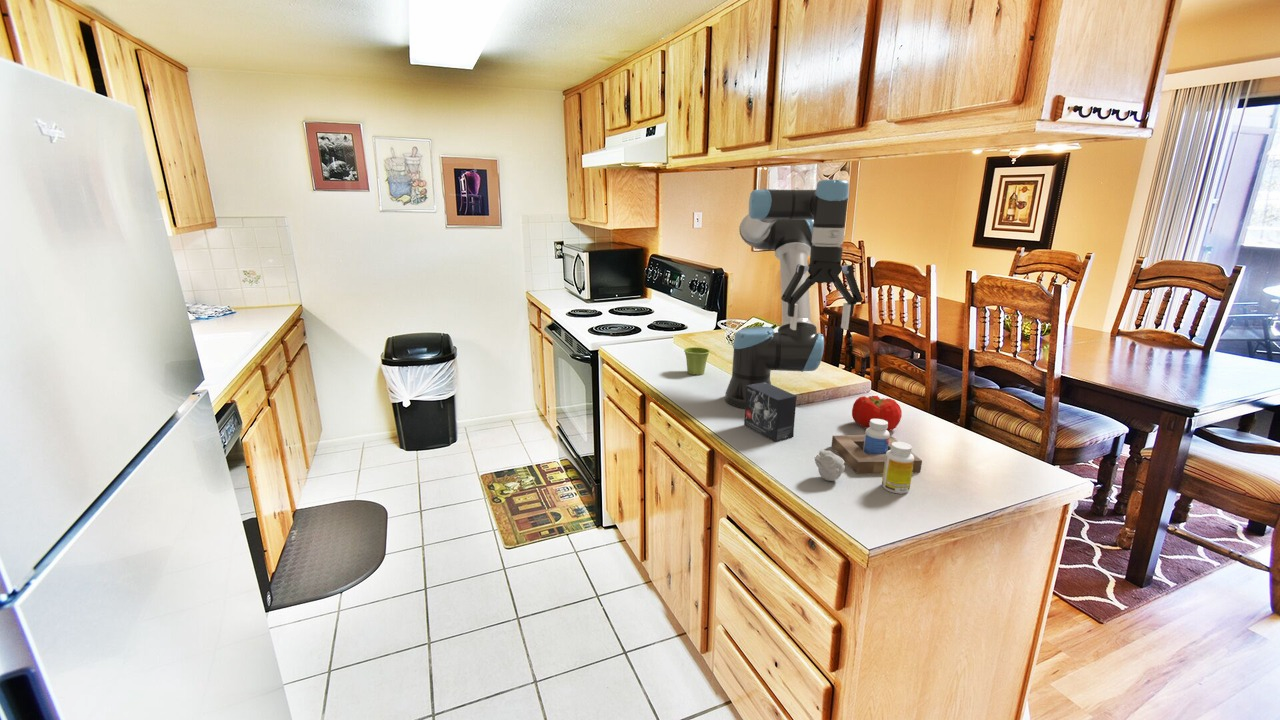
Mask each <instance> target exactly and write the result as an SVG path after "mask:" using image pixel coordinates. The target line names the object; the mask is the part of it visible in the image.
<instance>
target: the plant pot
mask: <svg viewBox="0 0 1280 720" xmlns="http://www.w3.org/2000/svg"><path fill="white" fill-rule="evenodd" d="M683 352H684V355H685V357H686V359H685V360H686V369H687V373H688V374H689V375H692V376H693V375H697V376H701V375H704V374H705V370H706V366H707V360H708V357H709V354H710V353H711V351H710V349H709V348H706V347H700V346H699V347H696V346H693V347H690V346H689V347H686V348H684V349H683Z"/></svg>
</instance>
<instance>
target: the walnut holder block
mask: <svg viewBox="0 0 1280 720" xmlns="http://www.w3.org/2000/svg"><path fill="white" fill-rule="evenodd" d="M864 440H865V434H853V435H851V434H849V435H848V434H847V435H845V434H844V435H843V434H842V435H841V434H840V435H832V438H831V444H830V445H831V448H832V449H833V450H834V452H836V454H838V456H839V457H841V458H842V459H843V460H844V462H845V463H846V464H847V465H848V466H849V467H850V468H851V469H852V470H853V471H854V472H855V473H856V475H861V474H862V475H863V474H865V475H870V474H871V475H873V474H883V471H884V464H885V457H886V454H870V455H867V454H866V453H865V452H864V451H863V448H864ZM893 442H899V441H898V440H897V439H896V438H894V436H892V435H891V434H890V436H889V443H888V450H891V444H892V443H893ZM911 454H912V455H913V456H914V464H913V470H912V474H913V473H918V474H919V473H921V470H922V464H923V459H921V458H920V457H918V456H917V455H916V454H914V453H913V452H912V451H911Z"/></svg>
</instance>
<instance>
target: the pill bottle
mask: <svg viewBox="0 0 1280 720" xmlns="http://www.w3.org/2000/svg"><path fill="white" fill-rule="evenodd" d="M869 426H870V427H869V428H865V429H866V430H865V432H864V435H865V440H864V448H863V451H864V452H865V453H866V454H867V455H870V454H886V452H887V451H888V443H889V436H890V435H891V434H890V431H889V430H888V431H887V430H886V429H887V428H888V422H887V421H885V420H882V419H871V420H870V424H869Z"/></svg>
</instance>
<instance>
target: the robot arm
mask: <svg viewBox="0 0 1280 720" xmlns="http://www.w3.org/2000/svg"><path fill="white" fill-rule="evenodd" d="M849 189H850V183H849V181H848V180H846V179H821V180H819V181H818V182H817V183H816V189H767V188H762V189H754V190H752V191H751V192H750V195H749V200H748V214H747V215H745V216H744V217H743V219H742V220H741V222H740V225H739V231H738V232H739V235H740V238H741V239H742V240H743V242H744V243H745V244H747V245H748V246H750V247H752V248H754V249H756V250H757V249H758V250H762V251H774V256H775V258H776V259H777V260H779V267H780V271H779V273H780V291H781V292H780V294H781V295H780V296H781V297H780V299H781V314H782V315H781V317H782V322H781V323H782V324H781V325H779V327H778V328H777V332H775V331H774V328H772V327H770V326H750V327H745V328H742V329H740V330H737V332H736V333H735V335H734V339H733V345H732V348H733V354H732V367H731V368H732V369H731V370H732V372H731V373H732V374H731V378H730V381H729V383H728V386H727V389H726V390H725V397H724V400H725V402H726V403H727V404H728V405H731V406H733V407H736V408H740V409H745V401H746V386H747V385H752V384H757V383H763V382H766V383H768V384H771V385H772V382H771V371H781V372H782V371H784V372H786V371H787V372H801V373H803V372H814V371H816V370H817V369H818V368H819V367H820V364H821V362H822V359H823V355H824V349H825V337H824V334H822V333H820V332H818V329H817V328H818V327H817V326H816V324H814V322H812V316H811V315H812V314H811V302H810V299H811V298H810V288H812V286H814V285H815V284H825V283H826V284H831V283H832V284H833V285H834V286H835V287H836V289H837V290H838V292H839V293H840V294H841V295H842V297H843V298H844V301H846V302H843V305H842V315H841V322H840V323H841V324H840V328H841V329H843V330H844V331H848V330H849V324H850V317H853V315H854V308H855V305H857V303H861V302H863V296H862V294H861V291H860V287H859V286H858V283H857V280H856V278H855V275H854V266H853V265H852V264H845V265H842V259H843V251H844V249H843V246H841V245H843V244H844V240H845V239H844V238H845V228H846V221H847V220H846V219H847V211H848V203H849V197H850V191H849ZM808 258H809V264H808ZM841 272H842V273H843V274H844V276H845V279H846V282H847V285H848V287H849V289H850V292H849V290H848V289H847V287H846V286H845V284H844V283H843V282H842V280H841V278H840V277H839V275H840V274H841Z"/></svg>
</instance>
